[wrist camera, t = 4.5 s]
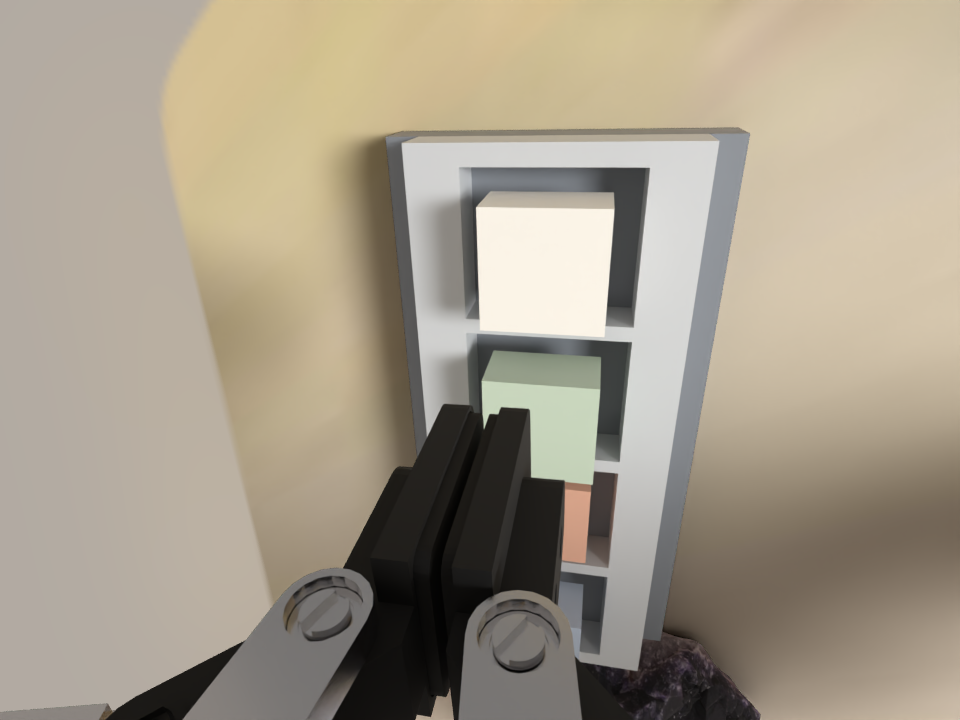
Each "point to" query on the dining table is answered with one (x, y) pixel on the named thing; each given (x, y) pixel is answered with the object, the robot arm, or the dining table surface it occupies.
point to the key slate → (572, 609)
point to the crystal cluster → (674, 684)
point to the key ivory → (544, 261)
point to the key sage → (550, 408)
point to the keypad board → (623, 350)
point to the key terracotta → (576, 521)
